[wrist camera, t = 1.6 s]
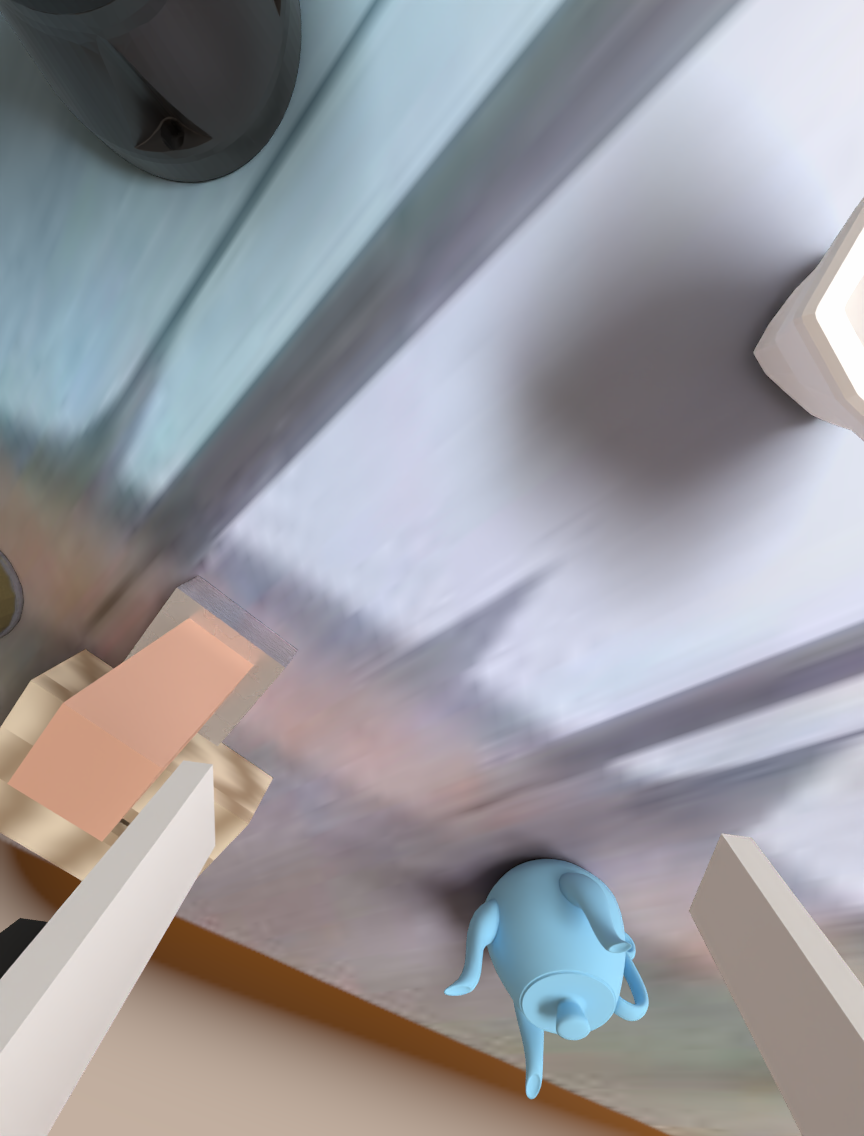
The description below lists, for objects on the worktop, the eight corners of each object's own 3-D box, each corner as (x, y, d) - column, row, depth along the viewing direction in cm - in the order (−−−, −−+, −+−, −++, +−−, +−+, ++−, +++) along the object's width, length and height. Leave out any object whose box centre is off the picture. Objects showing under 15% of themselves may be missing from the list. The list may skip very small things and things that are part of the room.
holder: (139, 657, 37) (113, 675, 34) (198, 575, 35) (176, 587, 32) (234, 724, 39) (217, 746, 36) (298, 650, 36) (285, 667, 33)
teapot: (639, 925, 44) (695, 1066, 34) (505, 965, 46) (520, 1108, 36) (586, 822, 40) (631, 945, 30) (444, 872, 43) (442, 1001, 33)
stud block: (165, 661, 37) (7, 783, 24) (208, 604, 35) (62, 702, 22) (223, 702, 38) (101, 841, 25) (267, 649, 36) (162, 768, 23)
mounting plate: (9, 761, 41) (-49, 803, 36) (85, 649, 37) (30, 680, 32) (186, 870, 44) (153, 922, 39) (272, 778, 40) (248, 823, 35)
